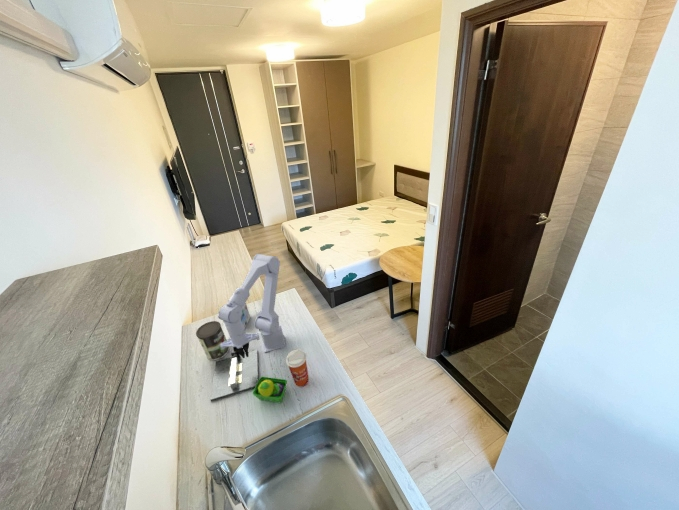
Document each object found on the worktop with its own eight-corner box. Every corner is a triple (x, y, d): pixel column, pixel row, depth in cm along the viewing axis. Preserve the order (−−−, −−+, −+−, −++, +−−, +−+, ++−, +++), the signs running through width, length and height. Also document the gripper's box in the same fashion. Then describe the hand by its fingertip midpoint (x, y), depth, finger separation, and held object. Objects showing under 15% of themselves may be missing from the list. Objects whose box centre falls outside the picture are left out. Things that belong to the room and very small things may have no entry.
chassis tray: (257, 351, 125) (255, 344, 122) (258, 387, 109) (255, 379, 106) (216, 363, 121) (213, 355, 119) (211, 401, 105) (207, 393, 103)
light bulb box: (244, 330, 138) (238, 313, 133) (231, 331, 138) (225, 314, 133) (250, 315, 147) (245, 300, 142) (238, 316, 148) (232, 300, 142)
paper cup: (295, 392, 105) (289, 368, 98) (289, 377, 111) (282, 353, 104) (314, 383, 108) (309, 358, 101) (307, 369, 114) (301, 345, 107)
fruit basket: (290, 388, 107) (284, 368, 101) (281, 410, 99) (275, 390, 94) (263, 384, 109) (256, 365, 104) (253, 405, 102) (245, 386, 96)
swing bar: (238, 357, 121) (236, 352, 119) (237, 387, 108) (234, 382, 106) (234, 358, 120) (232, 354, 119) (231, 389, 107) (229, 384, 106)
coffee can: (233, 343, 130) (225, 321, 124) (221, 361, 122) (211, 338, 115) (215, 342, 133) (205, 320, 126) (201, 359, 124) (190, 336, 117)
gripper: (215, 344, 101) (226, 368, 108) (255, 333, 104) (264, 357, 110) (217, 331, 107) (228, 355, 114) (255, 321, 110) (263, 345, 116)
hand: (245, 355), depth 112 cm, fingers closed
